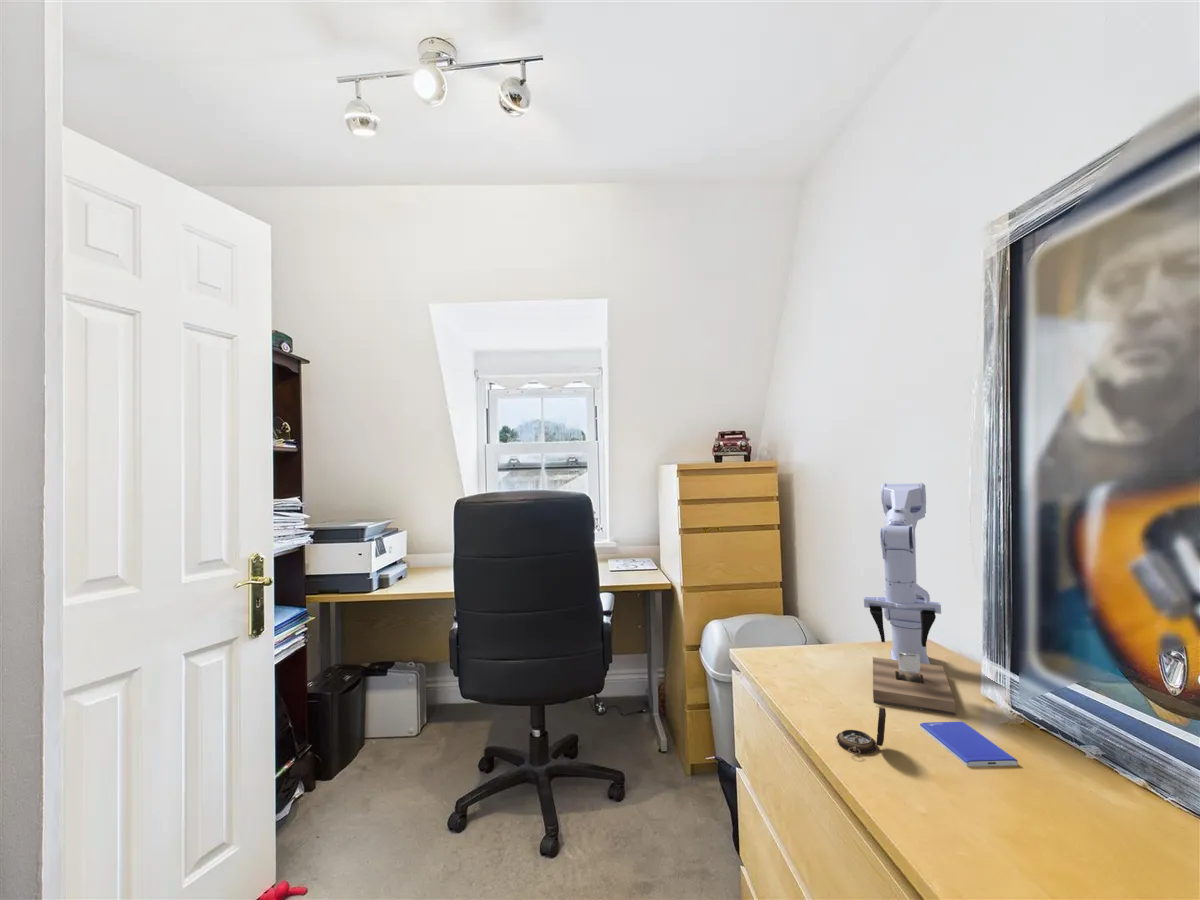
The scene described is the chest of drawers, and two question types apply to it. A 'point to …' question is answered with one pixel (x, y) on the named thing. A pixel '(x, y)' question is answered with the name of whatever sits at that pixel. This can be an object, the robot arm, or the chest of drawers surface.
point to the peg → (909, 666)
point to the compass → (863, 737)
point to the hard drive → (967, 744)
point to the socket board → (912, 687)
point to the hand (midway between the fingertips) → (903, 643)
